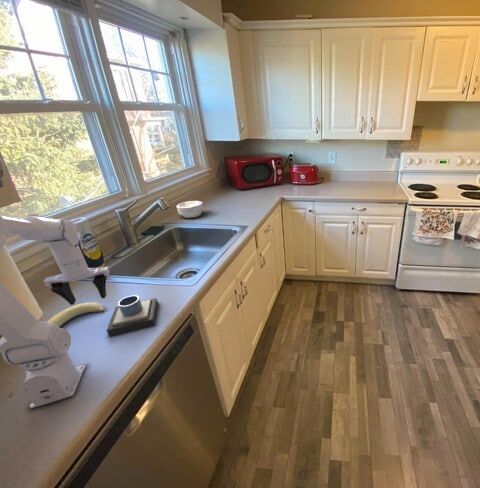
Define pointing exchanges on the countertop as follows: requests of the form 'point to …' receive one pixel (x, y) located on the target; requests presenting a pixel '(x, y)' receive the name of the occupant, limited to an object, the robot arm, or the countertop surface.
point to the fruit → (75, 312)
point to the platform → (140, 315)
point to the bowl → (130, 305)
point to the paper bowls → (190, 209)
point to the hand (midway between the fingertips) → (89, 299)
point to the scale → (136, 324)
